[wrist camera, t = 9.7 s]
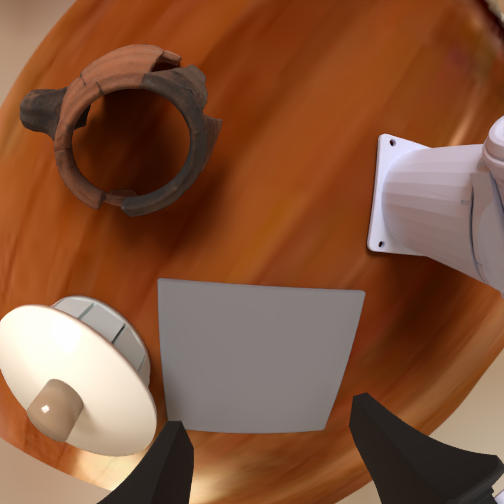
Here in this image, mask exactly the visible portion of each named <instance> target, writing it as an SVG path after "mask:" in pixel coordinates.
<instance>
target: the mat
mask: <svg viewBox="0 0 504 504" xmlns="http://www.w3.org/2000/svg"><path fill="white" fill-rule="evenodd" d="M364 297H365V292H364V291H363V290H337V289H313V288H292V287H274V286H257V285H242V284H227V283H214V282H201V281H189V280H177V279H166V278H159V279H158V312H159V333H160V349H161V362H162V374H163V384H164V393H165V402H166V410H167V417H168V421H182V423H183V425H184V428H185V429H187V430H197V431H209V432H225V433H288V432H305V431H316V430H324V428H325V425H326V423H327V420H328V417H329V415H330V412H331V409H332V407H333V404H334V401H335V398H336V395H337V392H338V390H339V387H340V384H341V381H342V377H343V374H344V371H345V368H346V365H347V362H348V358H349V355H350V351H351V348H352V344H353V341H354V337H355V334H356V330H357V326H358V322H359V318H360V314H361V310H362V306H363V302H364Z"/></svg>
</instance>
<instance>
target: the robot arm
mask: <svg viewBox="0 0 504 504" xmlns="http://www.w3.org/2000/svg"><path fill="white" fill-rule="evenodd" d="M390 140H392V142H393V146H391V145H390ZM380 241H382V246H381V247H379V246H378V244H379V242H380ZM367 246H368V248H369V249H370V250H372V251H376V252H387V253H398V254H409V255H419V256H427V257H429V258H432V259H434V260H436V261H438V262H441V263H443V264H445V265H447V266H449V267H451V268H454V269H456V270H458V271H460V272H462V273H464V274H466V275H468V276H471V277H473V278H475V279H477V280H479V281H481V282H483V283H485V284H487V285H489V286H491V287H493V288H495V289H497V290H499V291H500V292H501V295H502V298H503V299H504V116H503V117H501V118H500V119H499V120H498V121H496V122H495V123H494V125H493V126H492V127H491V129H490V131H489V134H488V137H487V138H486V140H485V142H484V144H478V145H463V146H451V147H440V148H429V147H426V146H423V145H420V144H417V143H414V142H411V141H408V140H405V139H402V138H398V137H395V136H391V135H388V134H383V135H380V136H379V138H378V151H377V164H376V176H375V186H374V196H373V204H372V212H371V220H370V227H369V233H368V240H367ZM349 427H350V430H351V433H352V436H353V439H354V442H355V445H356V447H357V449H358V451H359V453H360V455H361V457H362V459H363V461H364V463H365V465H366V467H367V469H368V471H369V473H370V475H371V477H372V479H373V481H374V483H375V485H376V488H377V491H378V494H379V497H380V500H381V503H382V504H504V489H503V490H502V491H501V492H500V493H499V494H498V495H496V496H495V497H493V496H492V495H491V494H492V493H493V492H494V490H493V489H492V485H493V484H494V483H495V482H496V481H497V480H498V479H499V478H500V477H501V476H502V474H503V473H504V464H503V463H502V461H501V460H500V459H499V458H498V457H497V455H489V454H481V453H475V452H470V451H466V450H462V449H459V448H456V447H452V446H450V445H447V444H444V443H442V442H439V441H437V440H435V439H433V438H430V437H428V436H426V435H425V434H423V433H421V432H419V431H418V430H416V429H414V428H413V427H411V426H409V425H408V424H406V423H405V422H404V421H402V420H401V419H399V418H398V417H397V416H395V415H394V414H392V413H391V412H390V411H389V410H387V409H386V408H385V407H384V406H382V405H381V404H380V403H379V402H377V401H376V400H375V399H374V398H373V397H372V396H370V395H369V394H368V393H363V394H359V395H356V396H353V402H352V409H351V416H350V423H349ZM193 469H194V448H193V446H192V443H191V441H190V439H189V437H188V435H187V432H186V430H185V428H184V425H183V423H182V421H167V422H166V424H165V425H164V427H163V429H162V430H161V432H160V434H159V435H158V437H157V438H156V440H155V441H154V443H153V445H152V446H151V447H150V449H149V450H148V452H147V453H146V455H145V456H144V457H143V459H142V460H141V461H140V463H139V464H138V465H137V466H136V468H135V469H134V470H133V471H132V472H131V474H130V475H129V476H128V477H127V478H126V479H125V480H124V481H123V482H122V483H121V484H120V485H119V486H118V487H117V488H116V489H115V490H114V491H112V492H111V493H110V494H109V495H108V496H107V497H105V498H104V499H103V500H101V501H100V502H98V503H97V504H189V498H190V491H191V484H192V476H193Z"/></svg>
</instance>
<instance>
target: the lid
mask: <svg viewBox="0 0 504 504" xmlns="http://www.w3.org/2000/svg"><path fill="white" fill-rule="evenodd" d="M0 368H1V371H2V374H3V376H4V378H5V380H6V382H7V384H8V386H9V388H10V389H11V391H12V393H13V394H14V396H15V397H16V398H17V400H18V401H19V402H20V404H21V405H22V406H23V407H24V409H25V410H26V411H27V415H28V417H29V419H30V421H31V422H32V423H33V425H34V426H35V427H36V428H37V429H38V430H39V431H41V432H42V433H43V434H44V435H46V436H47V437H49V438H51V439H53V440H55V441H59V442H67V443H69V444H71V445H73V446H75V447H77V448H80V449H82V450H85V451H88V452H91V453H95V454H99V455H105V456H117V457H118V456H128V455H133V454H135V453H138V452H140V451H142V450H143V449H145V448H146V447H147V446H148V445H149V444H150V443H151V441H152V439H153V437H154V434H155V431H156V427H157V410H156V406H155V403H154V399H153V397H152V395H151V393H150V390H149V388H148V387H147V385H146V383H145V382H144V380H143V378H142V377H141V376H140V374H139V373H138V372H137V370H136V369H135V367H134V366H133V365H132V364H131V363H130V362H129V360H128V359H127V358H126V357H125V356H124V355H123V354H122V353H121V352H120V351H119V350H118V349H117V348H116V347H115V346H114V345H113V344H112V343H111V342H109V341H108V340H107V339H106V338H105V337H104V336H103V335H101V334H100V333H99V332H97V331H96V330H94V329H93V328H92V327H90V326H89V325H87V324H86V323H84V322H83V321H81V320H79V319H78V318H76V317H74V316H72V315H70V314H68V313H66V312H64V311H61V310H59V309H56V308H54V307H50V306H46V305H40V304H27V305H22V306H19V307H17V308H15V309H14V310H12V311H11V312H9V313H8V314H7V315H6V316H5V317H4V318H3V319H2V320H1V322H0Z"/></svg>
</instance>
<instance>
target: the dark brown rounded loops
mask: <svg viewBox="0 0 504 504" xmlns="http://www.w3.org/2000/svg"><path fill="white" fill-rule="evenodd" d="M181 59H182V58H181V57H180V56H179V55H177V54H175V53H173V52H170V51H165V50H163V49H162V48H160V47H159V46H155V45H149V44H141V45H129V46H125V47H122V48H119V49H116V50H114V51H111V52H109V53H108V54H106V55H104V56H102V57H101V58H99V59H97V60H95V61H94V62H92V63H91V64H90V65H89V66H87V67H86V68H85V69H84V70H83V71H82V72H81V74H80V77H78V78H76V79H75V80H74V81H73V82H72V83H71V84H70V85H69V86H68V87H65V88H62V89H59V90H55V89H36V90H32V91H30V92H29V93H28V94H26V95H25V96H24V98H23V100H22V102H21V103H20V120H21V122H22V124H23V126H24V127H25V128H27V129H29V130H32V131H35V132H43V133H46V134H48V135H49V136H50V137H51V138H52V140H53V141H54V152H55V159H56V164H57V167H58V170H59V173H60V175H61V177H62V180H63V181H64V183H65V185H66V186H67V187H68V188H69V190H70V191H71V192H72V194H74V195H75V196H76V197H77V198H78V199H79V200H80V201H81V202H83V203H85V204H86V205H88V206H89V207H91V208H93V209H97V210H98V209H99V208H100V206H101V205H102V202H106V203H109V204H112V205H115V206H121V210H122V211H123V212H124V213H126V214H127V215H128V216H130V217H136V216H142V215H146V214H149V213H151V212H154V211H158V210H161V209H163V208H165V207H167V206H169V205H171V204H172V203H174V202H175V201H176V200H177V199H179V198H180V197H181V196H182V195H183V194H184V192H185V191H186V190H188V189H189V188H190V187H191V185H192V184H193V183H194V182H195V181H196V179H197V177H198V175H199V174H200V173H201V172H202V171H203V170H204V168H205V167H206V165H207V163H208V161H209V159H210V156H211V154H212V150H213V147H214V145H215V142H216V140H217V137H218V134H219V133H220V129H221V125H222V120H221V119H215V118H212V117H209V116H206V115H204V114H203V109H204V107H205V105H206V103H207V96H208V93H207V89H206V87H205V81H206V77H205V75H204V74H203V73H202V72H201V71H200V70H199V69H198V68H197V67H196V66H194V65H189V66H187V67H185V68H174V69H170V70H163V71H156V72H152V70H153V67H154V66H155V64H156V62H157V61H161V62H166V63H169V64H172V65H175V66H177V65H178V64H179V63H180V61H181ZM122 89H146V90H149V91H152V92H155V93H157V94H159V95H161V96H163V97H165V98H166V99H168V100H169V101H170V102H172V103H173V104H174V105H175V106H176V108H177V109H178V110H179V111H180V113H181V114H182V115H183V117H184V119H185V121H186V123H187V126H188V128H189V134H190V148H189V153H188V156H187V159H186V161H185V164H184V166H183V167H182V169H181V170H180V172H179V173H178V174H177V176H176V177H175V178H174V179H172V180H171V181H170V182H169V183H167V184H166V185H165V186H163V187H161V188H160V189H158V190H156V191H154V192H152V193H149V194H145V195H141V196H137V194H136V193H135V191H133V190H130V189H115V190H111V191H110V192H109V193H106V192H104V191H102V190H100V189H99V188H97V187H95V186H94V185H93V184H91V183H90V182H89V181H88V180H87V179H86V178H85V177H84V176H83V175H82V173H81V172H80V170H79V169H78V167H77V165H76V162H75V160H74V156H73V151H72V135H73V131H74V130H76V129H77V128H80V127H84V126H85V125H86V121H87V116H88V112H89V110H90V107H91V103H93V102H94V101H95V100H97V99H98V98H100V97H101V96H103V95H106V94H108V93H111V92H114V91H118V90H122Z"/></svg>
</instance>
